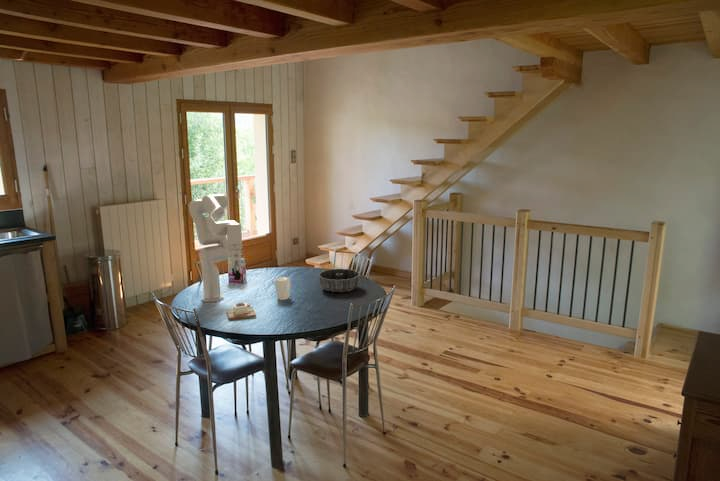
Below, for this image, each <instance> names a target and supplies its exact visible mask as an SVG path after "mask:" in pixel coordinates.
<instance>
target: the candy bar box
mask: <svg viewBox="0 0 720 481" xmlns="http://www.w3.org/2000/svg"><path fill="white" fill-rule="evenodd" d="M241 259H242V268H241V267H240V266H239V267H240V274H241V280H234V275H232V265H231V258H230V257H229V259H228V260H226V261H227V275H228V283H229V284H245V283H247V266H246V265H247V264H246V258H244V257H241Z"/></svg>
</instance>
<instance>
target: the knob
mask: <svg viewBox="0 0 720 481" xmlns="http://www.w3.org/2000/svg"><path fill="white" fill-rule="evenodd" d="M242 303H243V305H244V306H240V307H238V303H233V309H234V312H235V315H237V314H245V313H248V312H247V307H251V304H249V303H248V304H247V303H246V302H242Z"/></svg>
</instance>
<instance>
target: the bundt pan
mask: <svg viewBox="0 0 720 481" xmlns="http://www.w3.org/2000/svg"><path fill="white" fill-rule="evenodd" d="M317 275H318V277H319V283H320V286H321V288H322V289H323V290H325V291H327V292H329V291H331V292H332V293H333V292H334V293H338V292H340V293H344V292H345V293H346V292H352V291H353V290H352V289H354V290H355V289H357V287H358V285H359V281H360V276H361V273H360V272H359V271H357V270H356V269H349V268H331V269H327V270H323V271H320V273H318V274H317Z"/></svg>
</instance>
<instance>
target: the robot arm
mask: <svg viewBox="0 0 720 481" xmlns="http://www.w3.org/2000/svg"><path fill="white" fill-rule="evenodd" d="M228 206H229V199H228V197H227V196H226V195H225V194H223V193H217V194H216V193H214V194H206V195H205V196H203V197H201V198H198V199H197V198H196V199H193V200H192V201H190V202H189V205H188V210H189V214H190V218H192V220H193V223H194V225H195V226H194V227H195V229H196V235H197V239H198V243H199V244H200V245H202V246H205V247H203V248H201V249H200V250H199V252H198V256H199V261H200V265H201V266H200V267H201V273H202V274H201V275H202V286H203V288H202V289H203V296H202V297H201V301H202V302H204V303H205V302H206V303H213V302H219V301H222V300H223V299H224V295H223V294H221V284H220V283H221V282H220V271H219V267H218V266H217V265H216V264H215V263H219V262H220V263H221V262H225V261H227V260H228V259H229V258H231V265H232V275H234V280H241V274H240V267H241V268H242V259H241V258H242V251H241V250H242V249H243V238H242V234H243V233H242V224H241V223H239V222H237V221H236V220H233V219H232V220H222V221H221V219H222V218H223V217H224V216H225V212H226V211H225V209H227V207H228ZM205 214H208V216H206V215H205ZM219 220H220V221H219ZM209 245H212V246H209ZM206 246H207V247H206ZM239 266H240V267H239Z"/></svg>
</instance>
